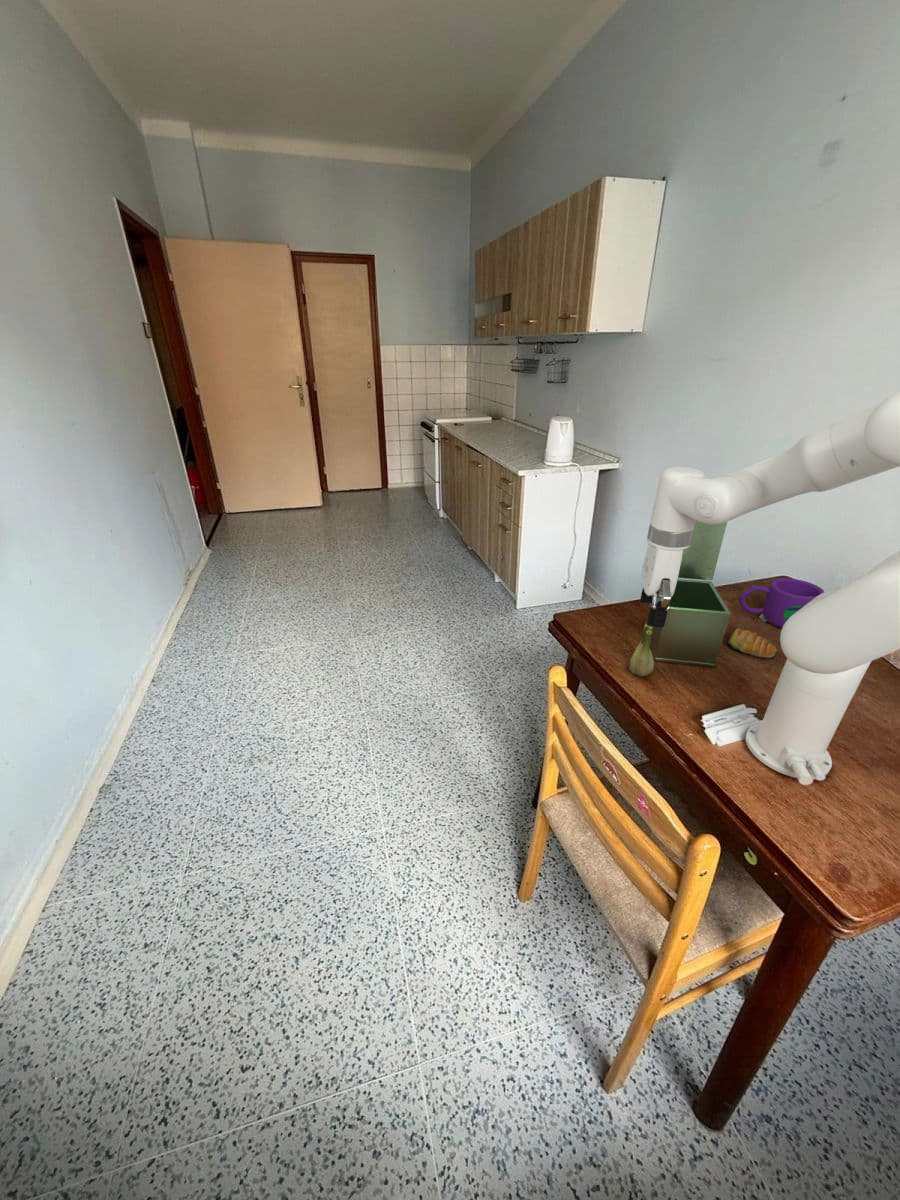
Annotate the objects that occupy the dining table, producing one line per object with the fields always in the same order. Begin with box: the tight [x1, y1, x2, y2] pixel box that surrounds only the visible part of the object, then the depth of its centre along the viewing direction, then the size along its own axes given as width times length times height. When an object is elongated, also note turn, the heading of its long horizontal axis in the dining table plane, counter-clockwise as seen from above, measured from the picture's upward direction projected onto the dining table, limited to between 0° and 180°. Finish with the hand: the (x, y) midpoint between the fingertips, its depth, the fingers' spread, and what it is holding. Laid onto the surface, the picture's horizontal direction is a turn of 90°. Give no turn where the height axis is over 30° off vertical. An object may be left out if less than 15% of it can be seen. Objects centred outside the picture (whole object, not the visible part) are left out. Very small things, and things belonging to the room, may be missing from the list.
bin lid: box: [678, 520, 728, 581], centre depth 109 cm, size 16×13×1 cm
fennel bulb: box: [628, 620, 655, 678], centre depth 101 cm, size 6×5×12 cm
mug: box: [738, 577, 825, 629], centre depth 120 cm, size 17×11×10 cm, turn 71°
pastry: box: [727, 627, 778, 658], centre depth 110 cm, size 9×7×4 cm
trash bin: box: [645, 578, 731, 668], centre depth 110 cm, size 16×13×14 cm
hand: (651, 613), depth 97 cm, fingers open, 9 cm apart
